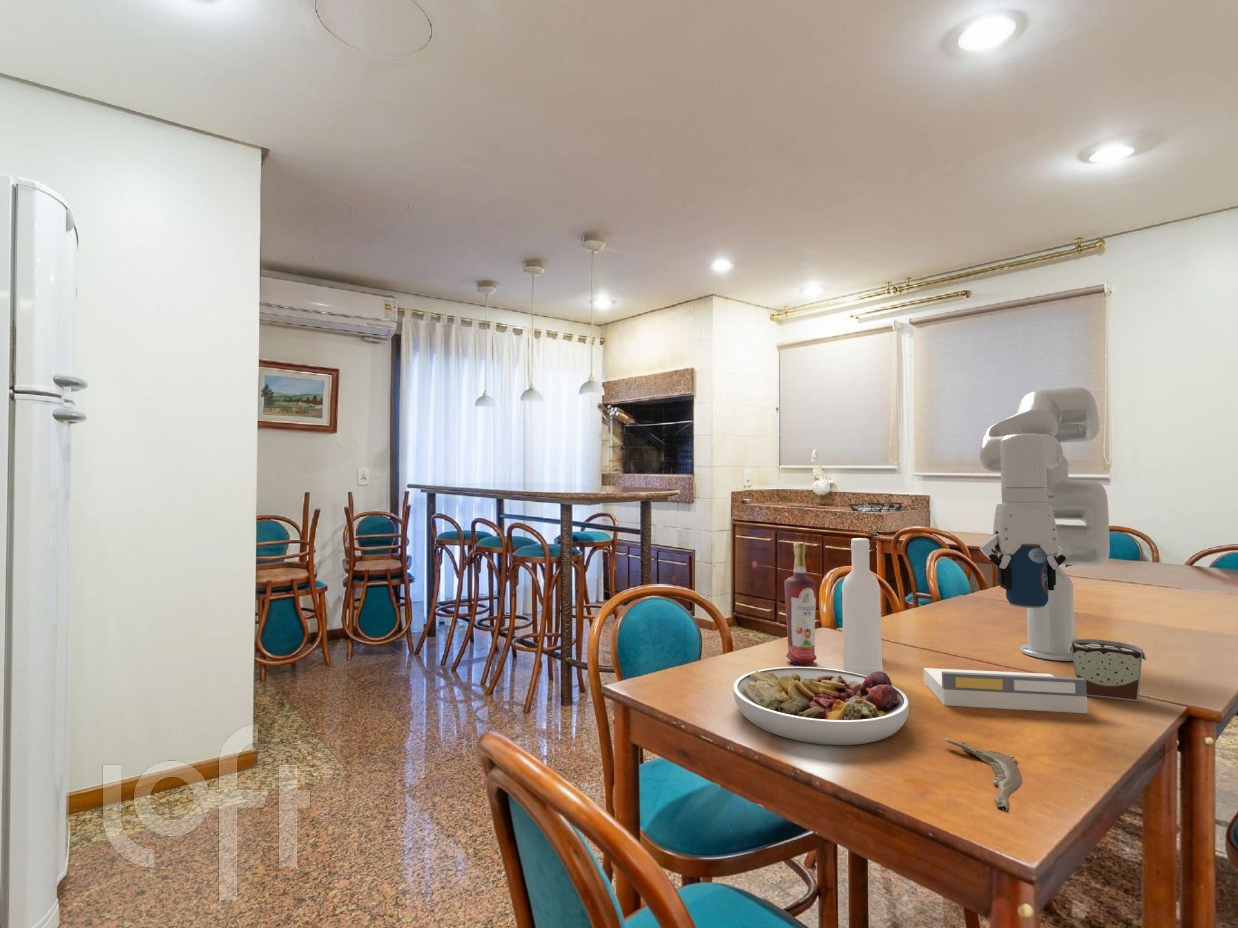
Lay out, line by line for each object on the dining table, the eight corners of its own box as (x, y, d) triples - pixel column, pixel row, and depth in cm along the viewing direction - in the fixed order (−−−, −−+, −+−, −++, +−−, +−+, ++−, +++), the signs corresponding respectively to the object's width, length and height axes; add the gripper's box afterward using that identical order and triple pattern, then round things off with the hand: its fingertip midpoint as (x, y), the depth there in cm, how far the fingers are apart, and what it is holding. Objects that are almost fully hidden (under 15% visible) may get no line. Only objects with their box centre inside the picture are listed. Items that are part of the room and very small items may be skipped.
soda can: (1055, 609, 118) (1053, 545, 119) (1013, 608, 120) (1012, 544, 120) (1039, 602, 125) (1037, 541, 125) (1000, 601, 127) (999, 541, 127)
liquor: (795, 667, 144) (793, 545, 145) (779, 659, 151) (777, 542, 152) (823, 665, 146) (821, 544, 147) (807, 657, 153) (805, 541, 154)
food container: (1137, 692, 126) (1135, 641, 126) (1147, 702, 120) (1146, 649, 120) (1062, 684, 131) (1061, 636, 131) (1069, 693, 125) (1068, 642, 126)
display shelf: (1050, 688, 128) (1049, 658, 128) (1088, 714, 114) (1087, 680, 114) (923, 682, 133) (923, 653, 133) (945, 706, 119) (944, 673, 119)
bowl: (772, 760, 97) (771, 708, 97) (713, 695, 127) (712, 656, 127) (948, 746, 102) (947, 696, 102) (851, 687, 131) (851, 649, 132)
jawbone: (1001, 755, 100) (1002, 742, 100) (1076, 826, 80) (1077, 810, 80) (941, 747, 101) (942, 735, 101) (999, 816, 81) (1000, 800, 81)
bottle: (853, 670, 142) (851, 536, 143) (888, 677, 136) (885, 538, 137) (836, 678, 136) (834, 539, 137) (872, 686, 131) (869, 541, 132)
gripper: (1064, 496, 125) (1067, 586, 125) (968, 496, 128) (971, 584, 128) (1084, 497, 118) (1087, 593, 117) (982, 497, 121) (984, 591, 121)
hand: (1026, 588), depth 123 cm, fingers closed on soda can, 6 cm apart
